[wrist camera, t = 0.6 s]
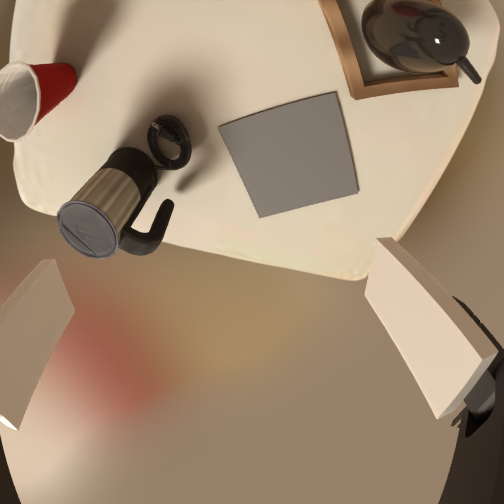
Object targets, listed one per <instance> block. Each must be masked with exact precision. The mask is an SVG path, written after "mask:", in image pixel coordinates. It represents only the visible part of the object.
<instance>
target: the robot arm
mask: <svg viewBox="0 0 504 504" xmlns="http://www.w3.org/2000/svg"><path fill="white" fill-rule="evenodd" d="M365 297H366V298H367V300H368V302H369V303H370V305H371V306H372V307H373V309H374V311H375V312H376V314H377V315H378V317H379V319H380V320H381V322H382V323H383V325H384V327H385V328H386V330H387V331H388V333H389V335H390V336H391V338H392V340H393V341H394V343H395V345H396V346H397V348H398V350H399V351H400V353H401V355H402V356H403V358H404V360H405V362H406V363H407V365H408V367H409V368H410V370H411V372H412V374H413V376H414V377H415V379H416V381H417V382H418V385H419V386H420V388H421V390H422V392H423V394H424V396H425V398H426V399H427V401H428V403H429V405H430V407H431V409H432V411H433V413H434V415H435V417H436V419H439V418H441V417H443V416H445V415H447V414H449V413H451V412H453V411H454V410H455V409H456V408H457V407H458V406H459V405H460V403H461V402H462V401H463V400H464V402H465V403H466V405H467V406H466V407H465V408H464V409H463V410H462V411H461V412H460V414H459V415H458V416H457V417H456V418H455V419H454V420H453V422H452V425H451V426H454V425H455V424H456V423H457V422H458V421H459V420H460V419H461V423H460V424H459V425H458V426H457V427H458V428H460V429H459V434H458V439H457V443H456V448H455V452H454V456H453V460H452V464H451V467H450V471H449V474H448V478H447V481H446V484H445V487H444V490H443V493H442V495H441V498H440V501H439V503H438V504H504V349H503V348H502V347H501V345H500V344H499V343H498V342H497V340H496V339H495V338H494V337H493V335H492V334H491V333H490V332H489V331H488V329H487V328H486V327H485V326H484V325H483V324H482V323H480V320H479V319H478V318H477V317H476V316H475V315H473V312H472V311H471V310H470V309H469V308H468V307H467V306H466V305H465V304H464V303H463V302H461V301H460V300H458V299H457V298H455V297H454V296H451V295H450V294H449V293H448V292H447V291H446V290H445V289H444V288H443V287H442V286H441V285H440V283H439V282H438V281H437V280H435V278H434V277H433V276H432V275H431V274H430V273H429V272H428V271H427V270H426V269H425V268H423V266H422V265H421V264H419V263H418V262H417V261H416V260H415V259H414V258H413V257H412V256H411V255H410V254H409V253H408V252H407V251H406V250H405V249H404V248H402V247H401V246H400V245H399V244H398V243H397V242H396V241H395V240H394V239H393V238H392V237H389V238H376V240H375V246H374V251H373V256H372V262H371V267H370V272H369V276H368V281H367V286H366V290H365ZM74 312H75V310H74V307H73V305H72V303H71V300H70V298H69V296H68V293H67V291H66V288H65V286H64V283H63V281H62V278H61V275H60V273H59V270H58V267H57V264H56V261H55V259H47V260H42V261H41V262H40V263H39V264H38V265H37V266H36V267H35V268H34V269H33V270H32V271H31V273H30V274H29V275H28V276H27V277H26V278H25V279H24V280H23V281H22V283H21V284H20V285H19V286H18V287H17V288H16V289H15V291H14V292H13V293H12V294H11V295H10V297H9V298H8V299H7V300H6V301H5V303H4V304H3V305H2V306H1V308H0V420H1V421H2V422H3V423H4V424H5V425H7V426H9V427H11V428H13V429H15V430H19V427H20V425H21V422H22V419H23V416H24V414H25V411H26V409H27V406H28V404H29V402H30V399H31V397H32V395H33V392H34V390H35V388H36V385H37V383H38V381H39V379H40V377H41V374H42V372H43V370H44V368H45V366H46V364H47V362H48V360H49V358H50V356H51V354H52V352H53V350H54V348H55V346H56V345H57V342H58V341H59V339H60V337H61V335H62V333H63V332H64V330H65V328H66V326H67V324H68V323H69V321H70V319H71V317H72V316H73V314H74ZM0 504H21V502H20V500H19V497H18V494H17V492H16V489H15V486H14V484H13V481H12V478H11V474H10V471H9V468H8V465H7V461H6V457H5V454H4V450H3V445H2V441H1V437H0Z"/></svg>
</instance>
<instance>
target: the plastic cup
mask: <svg viewBox="0 0 504 504" xmlns="http://www.w3.org/2000/svg"><path fill="white" fill-rule="evenodd" d="M75 85H76V73H75V70H74V69H73V67H72V66H71V65H69V64H65V63H58V64H55V63H52V64H39V65H28V64H25V63H23V62H21V61H17V62H12V63H9V64H7V65H6V66H5V67H4V68H3V69H1V70H0V136H1V137H2V138H4V139H5V140H7V141H9V142H18V141H20V140H22V139H23V138H25V137H27V136H28V134H29V133H30V131H31V130H32V129H33V127H34V126H35V125H36V124H37V123H38V122H39V120H41V119H42V118H43V117H44V116H45V115H46V114H47V113H49V112H50V111H51V110H52V109H53V108H55V107H56V106H57V105H58V104H59V103H60V102H61V101H62V100H64V99H65V98H66V97H68V95H69V94H70V93H71V92H72V91H73V90H74V87H75Z"/></svg>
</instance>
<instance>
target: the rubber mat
mask: <svg viewBox="0 0 504 504" xmlns="http://www.w3.org/2000/svg"><path fill="white" fill-rule="evenodd" d="M218 130H219V132H220V134H221V136H222V138H223V140H224V142H225V144H226V146H227V149H228V151H229V153H230V155H231V157H232V159H233V161H234V164H235V166H236V168H237V170H238V172H239V174H240V177H241V179H242V181H243V183H244V185H245V187H246V190H247V192H248V194H249V196H250V198H251V201H252V203H253V205H254V207H255V209H256V212H257V214H258V216H259V218H263V217H267V216H270V215H274V214H278V213H282V212H286V211H289V210H293V209H297V208H301V207H305V206H309V205H313V204H317V203H321V202H325V201H329V200H333V199H337V198H341V197H345V196H349V195H353V194H358V189H357V184H356V178H355V173H354V168H353V163H352V158H351V154H350V149H349V145H348V140H347V136H346V132H345V128H344V124H343V120H342V116H341V112H340V108H339V105H338V101H337V98H336V94H335V92H333V93H328V94H324V95H320V96H316V97H312V98H308V99H304V100H300V101H296V102H293V103H289V104H286V105H282V106H279V107H276V108H272V109H269V110H266V111H263V112H260V113H256V114H253V115H250V116H247V117H245V118H242V119H239V120H236V121H233V122H230V123H228V124H225V125H222V126H220V127H218Z"/></svg>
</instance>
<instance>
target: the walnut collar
mask: <svg viewBox="0 0 504 504" xmlns="http://www.w3.org/2000/svg"><path fill="white" fill-rule="evenodd" d="M430 1H432V2H434V3H437V4H439V5H441V2H440V0H430ZM318 2H319V4H320V6H321V9H322V11H323V14H324V16H325V19H326V21H327V24H328V26H329V29H330V32H331V35H332V37H333V40H334V43H335V46H336V49H337V52H338V55H339V58H340V61H341V64H342V67H343V71H344V74H345V77H346V81H347V84H348V88H349V92H350V95H351V97H353V98H354V99H355V100H359V99H365V98H370V97H376V96H382V95H388V94H394V93H402V92H409V91H418V90H427V89H438V88H452V87H459V84H458V76H457V70H456V65H455V66H453V67H451V68H449V69H446V70H443V71H440V74H429V75H417V76H407V77H398V78H391V79H383V80H377V81H371V82H365V83H363V80H362V76H361V72H360V69H359V65H358V62H357V58H356V55H355V52H354V49H353V45H352V42H351V39H350V36H349V33H348V31H347V28H346V25H345V22H344V19H343V17H342V14H341V12H340V9H339V7H338V4H337V2H336V0H318ZM441 6H442V5H441Z"/></svg>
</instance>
